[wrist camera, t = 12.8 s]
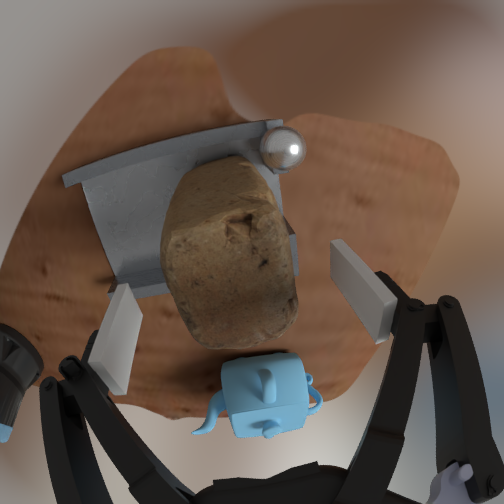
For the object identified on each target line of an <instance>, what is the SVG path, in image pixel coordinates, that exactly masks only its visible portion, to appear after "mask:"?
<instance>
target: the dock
mask: <svg viewBox="0 0 504 504" xmlns="http://www.w3.org/2000/svg"><path fill="white" fill-rule="evenodd" d="M305 155H306V143H305V140H304V138H303V136H302V135H301V134H300V133H299V132H298V131H297V130H295V129H293V128H291V127H288V126H283V121H282V119H267V120H260V121H253V122H246V123H240V124H234V125H228V126H223V127H217V128H212V129H207V130H202V131H198V132H193V133H189V134H184V135H180V136H176V137H172V138H168V139H164V140H161V141H157V142H153V143H150V144H146V145H143V146H139V147H136V148H133V149H129V150H126V151H123V152H120V153H117V154H114V155H111V156H108V157H105V158H102V159H100V160H97V161H94V162H91V163H89V164H86V165H83V166H81V167H78V168H76V169H74V170H72V171H70V172H68V173H66V174H64V175H62V178H63V181H64V185H65V188H67V187H69V186H72V185H74V184H77V183H80V182H81V183H82V187H83V190H84V193H85V196H86V200H87V203H88V206H89V209H90V212H91V215H92V218H93V221H94V223H95V226H96V229H97V232H98V235H99V237H100V240H101V242H102V245H103V248H104V250H105V253H106V255H107V258H108V260H109V262H110V265H111V267H112V269H113V272H114V274H115V276H116V277H115V278H114V280H113V282H112V284H111V286H110V288H109V290H108V293H107V294H108V296H109V298H110V300H111V299H112V297H113V295H114V293H115V290H116V288H117V286H118V285H120V284H125V283H128V284H129V287H130V289H131V291H132V293H133V296H134V298H135V299H137V298H143V297H149V296H154V295H160V294H166V293H171V292H170V291H169V289H168V287H167V285H166V282H165V278H164V275H163V272H162V268H161V265H160V242H161V233H162V229H163V224H164V220H165V216H166V212H167V210H168V207H169V203H170V201H171V198H172V196H173V194H174V192H175V189H176V187H177V185H178V183H179V181H180V179H181V178H182V177H183V175H184V174H185V173H187V172H188V171H190V170H192V169H194V168H196V167H197V166H199V165H201V164H204V163H206V162H209V161H213V160H216V159H221V158H225V157H231V156H242V157H245V158H246V159H248V160H249V161H250V162H251V163H252V164H253V165H254V166H255V167H256V169H257V170H258V171H259V173H260V174H261V175H262V177H263V178H264V179H265V180H266V182H267V184H268V186H269V188H270V189H271V190H272V192H273V194H274V196H275V199H276V202H277V205H278V208H279V211H280V213H281V214H282V216H283V209H282V200H281V192H280V184H279V176H278V174H282V173H288V172H289V170H292V169H294V168H296V167H297V166H299V165H300V164H301V163H302V161H303V160H304V158H305ZM283 219H284V222H285V225H286V227H287V230H288V233H289V239H290V247H291V253H292V261H293V269H294V276H298V275H299V268H298V255H297V243H296V234H295V232H294V231H293V229H292V228H291V226H290V225H289V223H288V222H287V220H286V219H285V217H284V216H283Z"/></svg>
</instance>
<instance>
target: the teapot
mask: <svg viewBox="0 0 504 504" xmlns="http://www.w3.org/2000/svg"><path fill="white" fill-rule="evenodd" d="M307 380H308V382H307ZM221 382H222V389H221V390H220V391H218V392H217V393H215V394H214V395H213V397H212V398H211V400H210V402H209V406H208V411H207V416H206V419H205V422H204V423H203V425H202V426H201V427H200V428H198V429H197V430H195V431H193V432H192V434H204V433H208V432H209V431H211V430H212V429H213V428H214V426H215V423H216V420H217V417H218V415H219V413H221V412H222V411H224V410H225V409H227V412H228V416H229V419H230V422H231V425H232V428H233V431H234V434H235V435H236V437H238V438H245V437H256V436H264V437H265V438H272V437H273V436H274V435H277V434H279V433H282V432H287V431H292V430H296V429H299V428H302V427H303V426H304V423H305V420H306V416H307V415H312V414H314V413H316V412H317V411H318V410H319V409H320V408H321V406H322V403H323V399H322V396H321V395H320V393H319V392H318V391H317V390H316V389H314V388H313V387H312V386H311V384H312V382H313V378H312V376H311V375H310V374H309V373H305V371H304V367H303V364H302V361H301V359H300V358H299V356H298V355H297V354H296V353H280V352H278V353H274V354H271V355H262V356H254V357H248V358H244V357H240V358H237V359H235V360H231V361H227V362H224V363H223V365H222V369H221ZM308 393H309V394H310V395H311V396H313V397H314V399H315V400H316V401H317V404H316V406H314V407H312V408H308V407H309V394H308Z"/></svg>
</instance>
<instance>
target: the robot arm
mask: <svg viewBox="0 0 504 504" xmlns="http://www.w3.org/2000/svg"><path fill="white" fill-rule="evenodd" d="M330 260H331V278H332V280H333V281H334V282H335V284H336V285H337V287H338V288H339V290H340V291H341V292H342V294H343V295H344V297H345V298H346V300H347V301H348V303H349V304H350V306H351V307H352V308H353V310H354V311H355V313H356V314H357V316H358V317H359V319H360V320H361V322H362V323H363V325H364V326H365V328H366V329H367V331H368V332H369V334H370V335H371V337H372V339H373V340H374V342H375V343H376V344H378V343H381V342H383V341H386V340H388V339H389V335H390V332H391V333H392V334H393V336H394V339H393V343H392V346H391V351H390V355H389V359H388V363H387V366H386V370H385V373H384V377H383V380H382V383H381V386H380V390H379V393H378V396H377V399H376V402H375V405H374V407H373V410H372V413H371V416H370V419H369V421H368V424H367V426H366V429H365V431H364V434H363V436H362V439H361V441H360V443H359V446H358V448H357V450H356V452H355V455H354V457H353V459H352V461H351V463H350V465H349V467H348V469H344V468H341V467H337V466H331V465H318V462H317V461H316V462H312V463H308V464H304V465H301V466H297V467H293V468H290V469H288V470H286V471H284V472H282V473H279V474H277V475H275V476H272V477H271V478H268V479H253V478H239V477H237V478H229V479H219V480H213V485H211V486H209V487H206V488H205V489H203V490H201V491H200V492H198V493H197V494H195V493H194V492H192V491H191V490H190V489H189V488H187V487H186V486H185V485H184V484H182V483H181V482H180V481H179V480H178V479H177V478H176V477H175V476H174V475H173V474H172V473H171V472H170V471H169V470H168V469H167V468H166V467H165V465H164V464H163V463H162V462H161V461H160V460H159V459H158V458H157V457H156V456H155V455H154V454H153V452H152V451H151V450H150V449H149V448H148V447H147V445H146V444H145V443H144V442H143V441H142V439H141V438H140V437H139V436H138V434H137V433H136V432H135V431H134V430H133V428H132V427H131V426H130V424H129V423H128V422H127V420H126V419H125V418H124V416H123V415H122V414H121V412H120V411H119V409H118V408H117V407H116V405H115V404H114V402H113V401H112V399H111V398H110V397H109V396H108V391H109V390H110V391H111V392H112V393H113V394H114V395H126V393H127V388H128V382H129V377H130V372H131V366H132V362H133V357H134V352H135V347H136V343H137V338H138V334H139V330H140V326H141V322H142V318H143V315H142V313H141V311H140V308H139V306H138V304H137V302H136V300H135V298H134V296H133V293H132V291H131V289H130V287H129V284H128V283H125V284H120V285H118V286H117V288H116V290H115V293H114V295H113V297H112V299H111V302H110V304H109V307H108V309H107V311H106V314H105V316H104V319H103V321H102V324H101V327H100V329H99V330H95V331H94V332H93V333H92V335H91V336H90V338H89V340H88V344H87V345H86V348H85V349H86V350H85V351H84V353H83V356H82V359H81V362H80V360H79V359H78V358H77V357H76V356H74V355H71V356H68V357H66V358H64V359H63V360H62V361H61V363H60V364H59V372H60V373H61V374H62V375H63V377H64V378H65V380H62V381H59V382H58V381H57V380H56V379H55V378H54V377H52V376H50V377H47V378H45V379H44V380H43V381H42V382H41V384H40V388H39V389H40V390H39V392H40V411H41V423H42V431H43V440H44V446H45V453H46V458H47V464H48V468H49V474H50V478H51V482H52V486H53V490H54V494H55V497H56V501H57V504H113V502H112V500H111V498H110V495H109V492H108V490H107V488H106V485H105V482H104V480H103V477H102V475H101V472H100V469H99V466H98V463H97V460H96V457H95V454H94V451H93V447H92V444H91V440H90V437H89V433H88V429H87V425H86V421H85V418H86V420H87V421H88V423H89V425H90V427H91V429H92V430H93V432H94V434H95V435H96V437H97V439H98V440H99V442H100V444H101V445H102V447H103V448H104V450H105V452H106V453H107V455H108V456H109V458H110V459H111V461H112V462H113V463H114V465H115V466H116V468H117V469H118V471H119V472H120V473H121V475H122V476H123V477H124V479H125V480H126V481H127V483H128V484H129V488H128V489H129V491H130V493H131V494H132V495H133V497H134V498H135V499H136V500H137V502H138V503H139V504H421V503H419V502H416V501H413V500H411V499H409V498H406V497H404V496H401V495H399V494H396V493H394V492H392V491H390V490H387V488H388V485H389V483H390V480H391V478H392V475H393V473H394V470H395V468H396V465H397V462H398V459H399V456H400V453H401V450H402V447H403V444H404V440H405V437H404V431H405V427H406V424H407V421H408V417H409V413H410V409H411V405H412V401H413V396H414V392H415V387H416V382H417V377H418V372H419V366H420V360H421V353H422V346H423V343H427V347H428V353H429V359H430V366H431V374H432V381H433V391H434V402H435V418H436V465H437V473H438V474H437V475H436V476H435V477H434V479H433V480H432V482H431V486H430V497H429V499H428V501H427V503H426V504H481V503H483V502H485V501H488V500H490V499H492V498H494V497H496V496H498V495H499V494H500V493H501V492H502V491H503V489H504V464H503V461H502V459H501V456H500V454H499V451H498V449H497V447H496V444H495V442H494V440H493V437H492V432H491V424H490V416H489V409H488V404H487V398H486V393H485V387H484V383H483V378H482V374H481V370H480V366H479V362H478V358H477V354H476V351H475V347H474V344H473V341H472V337H471V335H470V332H469V328H468V325H467V322H466V319H465V317H464V314H463V311H462V308H461V306H460V303H459V301H458V300H457V299H456V298H454V297H452V296H449V295H444V296H441V297H440V298H439V299H438V302H437V304H430V305H425V304H424V303H423V302H422V301H420V300H418V299H413V298H409V297H408V295H407V294H406V293H405V292H404V291H403V290H402V289H401V288H400V287H399V286H398V285H397V284H396V283H395V282H394V281H393V280H392V279H391V278H390V277H389V275H387V274H385V273H383V272H381V271H378V272H375V273H374V272H373V271H372V270H371V269H370V268H369V267H368V266H367V265H366V264H365V263H364V262H363V261H362V260H361V259H360V258H359V257H358V255H357V254H356V253H355V252H354V251H353V250H352V249H351V248H350V247H349V246H348V245H347V244H346V243H345V242H344V241H343V240H342V239H337V240H332V241H330ZM43 369H44V364H43V361H42V358H41V356H40V355H39V353H38V352H37V350H36V349H35V348H34V346H33V345H32V344H31V343H30V342H29V341H28V340H27V339H26V338H25V337H24V336H22V335H21V334H20V333H19V332H17V331H16V330H14V329H13V328H11V327H9V326H6V325H3V324H0V442H1V443H5V442H6V441H7V440H8V439H9V436H10V434H11V431H12V430H13V425H14V422H15V419H16V416H17V413H18V410H19V407H20V404H21V402H22V399H23V397H24V394H25V392H26V390H27V389H28V388H29V387H30V386H31V385H32V384H33V383H34V382H35V381H36V380H38V378H39V377H40V376H41V373H42V371H43ZM84 416H85V417H84Z"/></svg>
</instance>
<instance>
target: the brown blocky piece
mask: <svg viewBox="0 0 504 504" xmlns="http://www.w3.org/2000/svg"><path fill="white" fill-rule="evenodd" d="M160 265H161V268H162V272H163V275H164V278H165V282H166V285H167V287H168V289H169V291H170V292H171V294H172V296H173V298H174V301H175V303H176V306H177V308H178V311H179V313H180V315H181V317H182V319H183V321H184V322H185V324H186V326H187V328H188V330H189V332H190V333H191V335H192V336H193V338H194V339H195V340H196V341H197V342H198V343H200V344H201V345H203V346H204V347H206V348H208V349H244V348H249V347H255V346H257V345H259V344H261V343H263V342H266V341H269V340H274V339H277V338H279V337H280V336H281V335H283V334H284V332H285V331H286V330H287V329H289V328H290V327H291V326H292V324H293V323H294V322H295V321H296V319H297V317H298V298H297V293H296V287H295V279H294V269H293V261H292V253H291V247H290V239H289V233H288V230H287V227H286V225H285V222H284V219H283V216H282V214H281V213H280V211H279V208H278V205H277V202H276V199H275V196H274V194H273V192H272V190H271V189H270V188H269V186H268V184H267V182H266V180H265V179H264V178H263V177H262V175H261V174H260V173H259V171H258V170H257V169H256V167H255V166H254V165H253V164H252V163H251V162H250V161H249V160H248V159H246V158H245V157H242V156H231V157H225V158H221V159H216V160H213V161H209V162H206V163H204V164H201V165H199V166H197V167H196V168H194V169H192V170H190V171H188V172H187V173H185V174H184V175H183V177H182V178H181V179H180V181H179V183H178V185H177V187H176V189H175V192H174V194H173V196H172V198H171V201H170V203H169V207H168V210H167V212H166V216H165V220H164V224H163V229H162V233H161V242H160Z"/></svg>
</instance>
